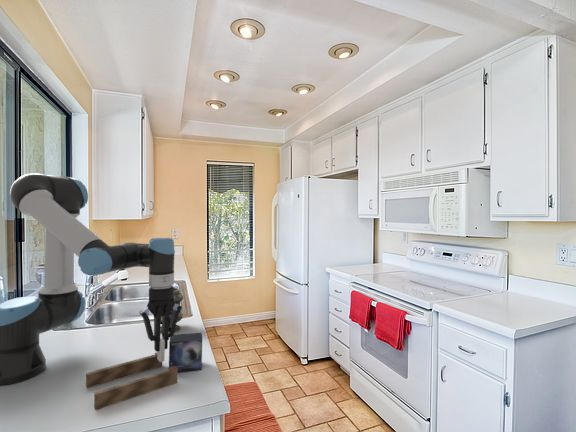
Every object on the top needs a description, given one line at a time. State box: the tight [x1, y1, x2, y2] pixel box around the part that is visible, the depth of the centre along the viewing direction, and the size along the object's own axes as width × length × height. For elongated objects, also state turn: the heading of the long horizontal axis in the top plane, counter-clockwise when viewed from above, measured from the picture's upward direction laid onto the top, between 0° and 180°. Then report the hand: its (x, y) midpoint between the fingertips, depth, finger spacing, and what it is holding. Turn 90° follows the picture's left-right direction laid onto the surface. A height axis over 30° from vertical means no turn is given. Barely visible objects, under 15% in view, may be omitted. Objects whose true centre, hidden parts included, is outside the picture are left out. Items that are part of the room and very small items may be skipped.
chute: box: [85, 351, 178, 411], centre depth 98 cm, size 22×15×5 cm
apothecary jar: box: [160, 286, 184, 334], centre depth 144 cm, size 12×12×18 cm
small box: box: [168, 332, 203, 373], centre depth 109 cm, size 11×6×10 cm, turn 107°
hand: (160, 360), depth 104 cm, fingers closed
